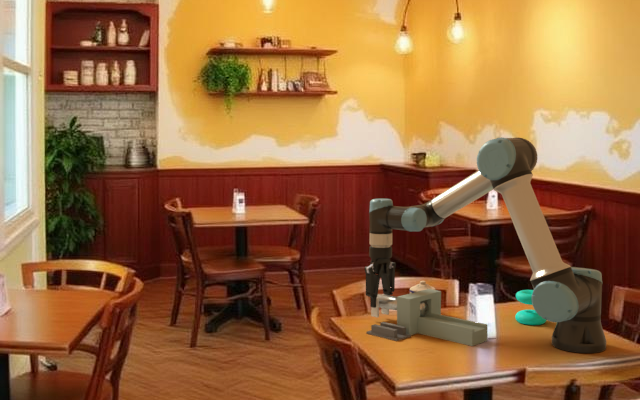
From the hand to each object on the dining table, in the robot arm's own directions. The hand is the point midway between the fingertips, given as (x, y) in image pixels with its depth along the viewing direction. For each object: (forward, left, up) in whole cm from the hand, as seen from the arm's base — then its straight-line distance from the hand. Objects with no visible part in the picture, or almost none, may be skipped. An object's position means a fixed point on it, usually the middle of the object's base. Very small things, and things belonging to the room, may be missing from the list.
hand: (380, 315), depth 252 cm
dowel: (-8, 0, +3) cm, 8 cm away
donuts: (-37, -33, -2) cm, 49 cm away
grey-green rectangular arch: (-16, 0, -2) cm, 16 cm away
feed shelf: (-29, 0, -2) cm, 29 cm away
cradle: (-14, +12, -2) cm, 18 cm away
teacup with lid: (-5, -17, -2) cm, 18 cm away
